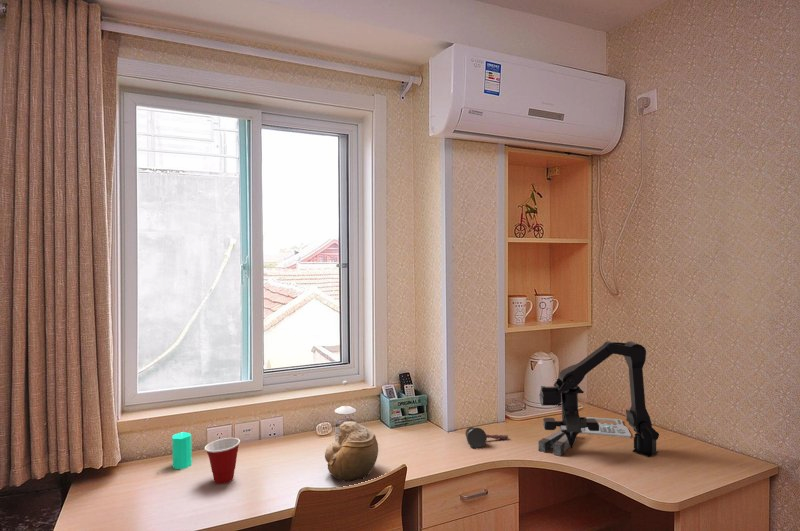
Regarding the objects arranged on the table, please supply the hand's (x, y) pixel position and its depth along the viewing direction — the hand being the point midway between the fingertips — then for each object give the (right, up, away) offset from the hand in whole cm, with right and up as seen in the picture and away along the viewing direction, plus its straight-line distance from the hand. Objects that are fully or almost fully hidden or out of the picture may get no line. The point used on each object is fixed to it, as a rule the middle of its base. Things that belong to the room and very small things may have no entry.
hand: (571, 447), depth 178 cm
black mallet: (-29, -2, +9) cm, 30 cm away
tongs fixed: (-3, -1, +7) cm, 8 cm away
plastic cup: (-119, -3, -21) cm, 121 cm away
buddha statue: (-78, -3, -17) cm, 80 cm away
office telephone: (+20, -2, +26) cm, 33 cm away
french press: (-83, -2, +7) cm, 83 cm away
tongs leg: (-1, -1, +4) cm, 4 cm away
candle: (-137, -3, -9) cm, 138 cm away
